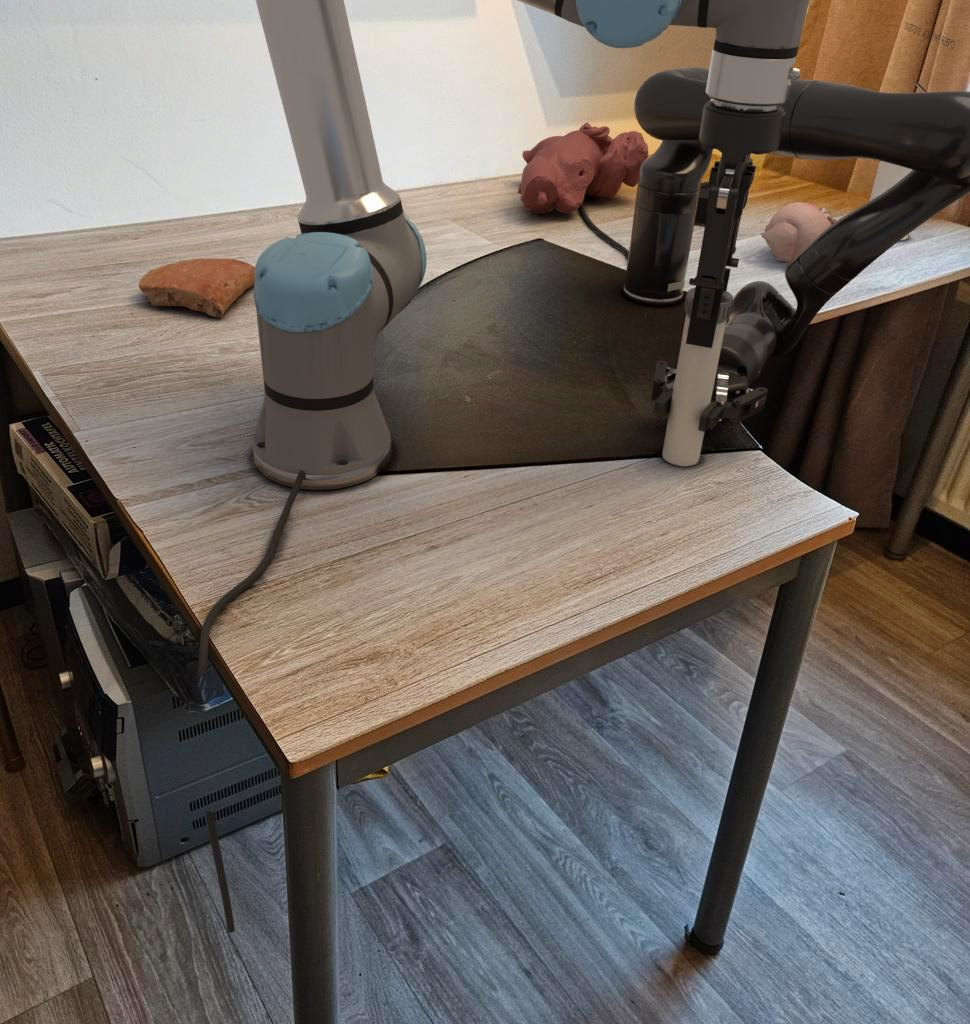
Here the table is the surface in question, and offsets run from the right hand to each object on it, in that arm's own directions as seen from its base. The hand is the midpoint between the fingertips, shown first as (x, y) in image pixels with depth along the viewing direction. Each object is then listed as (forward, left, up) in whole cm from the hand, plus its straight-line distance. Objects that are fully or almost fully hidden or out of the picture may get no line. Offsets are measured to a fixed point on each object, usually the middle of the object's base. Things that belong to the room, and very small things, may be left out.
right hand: (681, 417), depth 106 cm
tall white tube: (-94, +47, -6) cm, 105 cm away
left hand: (-2, +1, +9) cm, 9 cm away
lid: (-2, +1, +13) cm, 13 cm away
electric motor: (-70, -44, -6) cm, 83 cm away
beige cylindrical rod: (-2, +1, -6) cm, 7 cm away
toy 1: (-105, +16, -6) cm, 107 cm away
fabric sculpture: (-99, -12, -6) cm, 100 cm away
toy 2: (-76, +27, -6) cm, 81 cm away
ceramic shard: (-39, -68, -6) cm, 78 cm away
